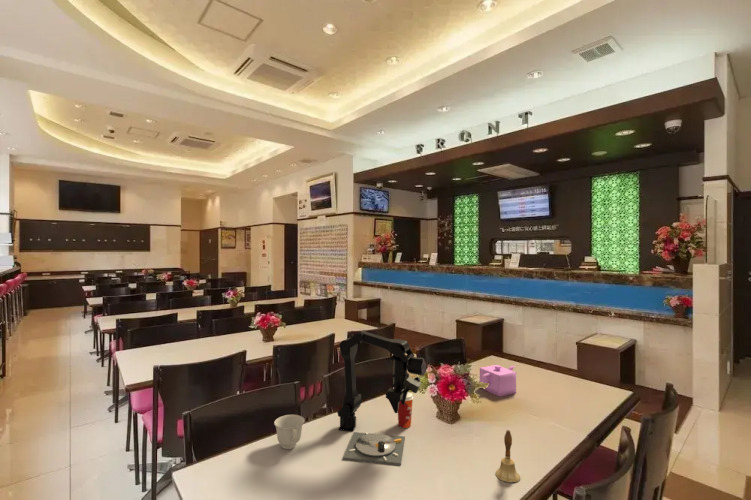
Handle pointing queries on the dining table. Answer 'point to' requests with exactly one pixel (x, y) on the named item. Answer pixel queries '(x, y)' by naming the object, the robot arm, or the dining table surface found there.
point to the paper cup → (405, 412)
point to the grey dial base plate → (391, 458)
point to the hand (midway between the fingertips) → (399, 408)
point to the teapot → (499, 380)
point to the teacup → (289, 430)
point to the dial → (375, 445)
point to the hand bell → (507, 463)
